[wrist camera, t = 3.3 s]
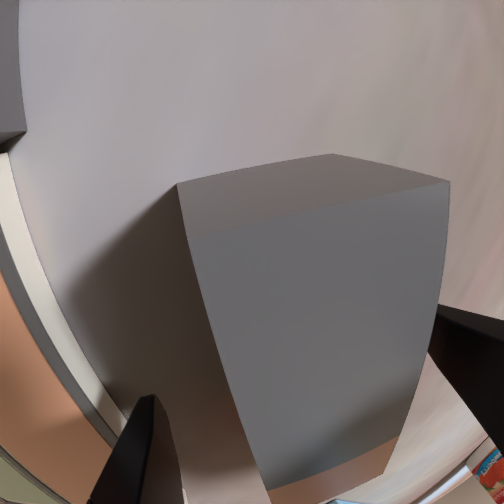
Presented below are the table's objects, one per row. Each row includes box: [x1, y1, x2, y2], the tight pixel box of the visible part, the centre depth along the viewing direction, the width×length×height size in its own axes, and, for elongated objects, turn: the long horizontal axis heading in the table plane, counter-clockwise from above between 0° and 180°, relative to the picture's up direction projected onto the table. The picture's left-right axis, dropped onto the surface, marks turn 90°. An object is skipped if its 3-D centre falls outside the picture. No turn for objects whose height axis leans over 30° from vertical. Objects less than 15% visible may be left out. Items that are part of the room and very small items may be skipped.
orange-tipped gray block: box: [177, 154, 450, 504], centre depth 8 cm, size 4×10×4 cm, turn 10°
